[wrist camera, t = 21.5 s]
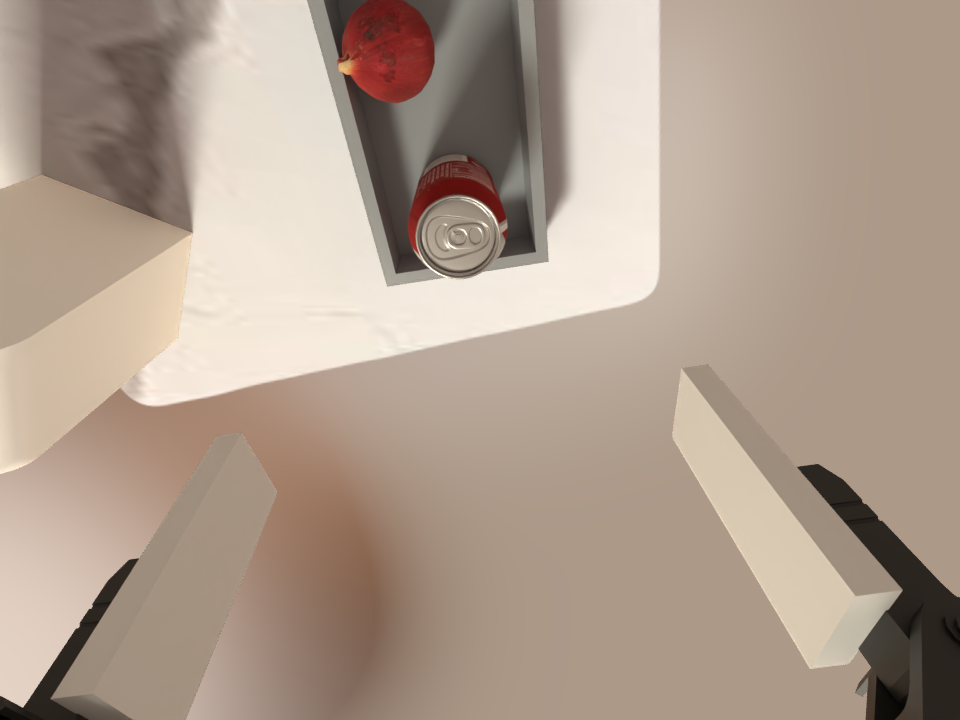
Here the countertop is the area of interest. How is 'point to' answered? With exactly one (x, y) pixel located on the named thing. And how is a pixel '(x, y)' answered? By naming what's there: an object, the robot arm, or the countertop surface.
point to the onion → (388, 50)
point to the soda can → (457, 217)
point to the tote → (448, 124)
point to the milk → (77, 307)
